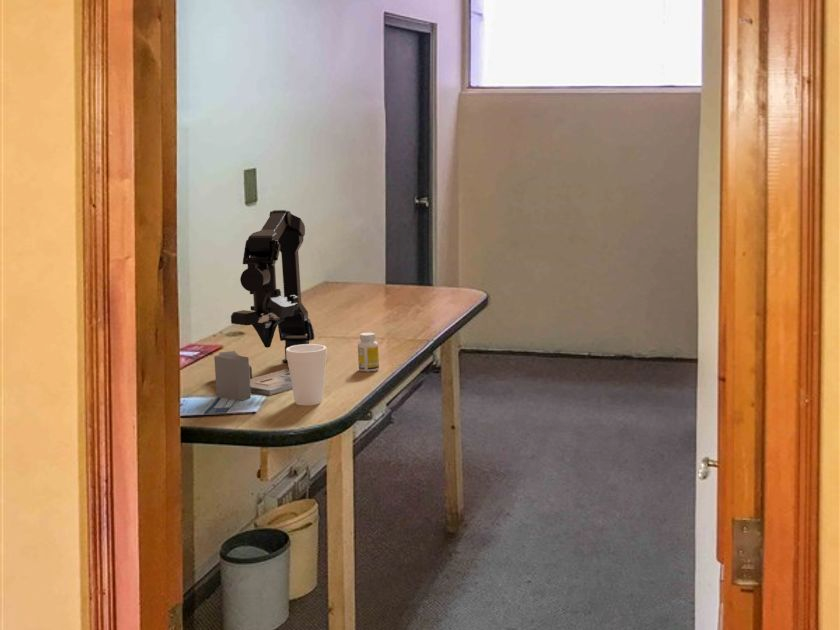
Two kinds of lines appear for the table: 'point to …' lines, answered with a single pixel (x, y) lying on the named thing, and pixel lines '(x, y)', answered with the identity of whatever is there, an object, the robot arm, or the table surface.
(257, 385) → the panel
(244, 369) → the post
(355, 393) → the table surface
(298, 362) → the foam cup
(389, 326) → the table surface
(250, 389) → the bar
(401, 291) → the table surface
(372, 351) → the supplement bottle
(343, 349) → the table surface
